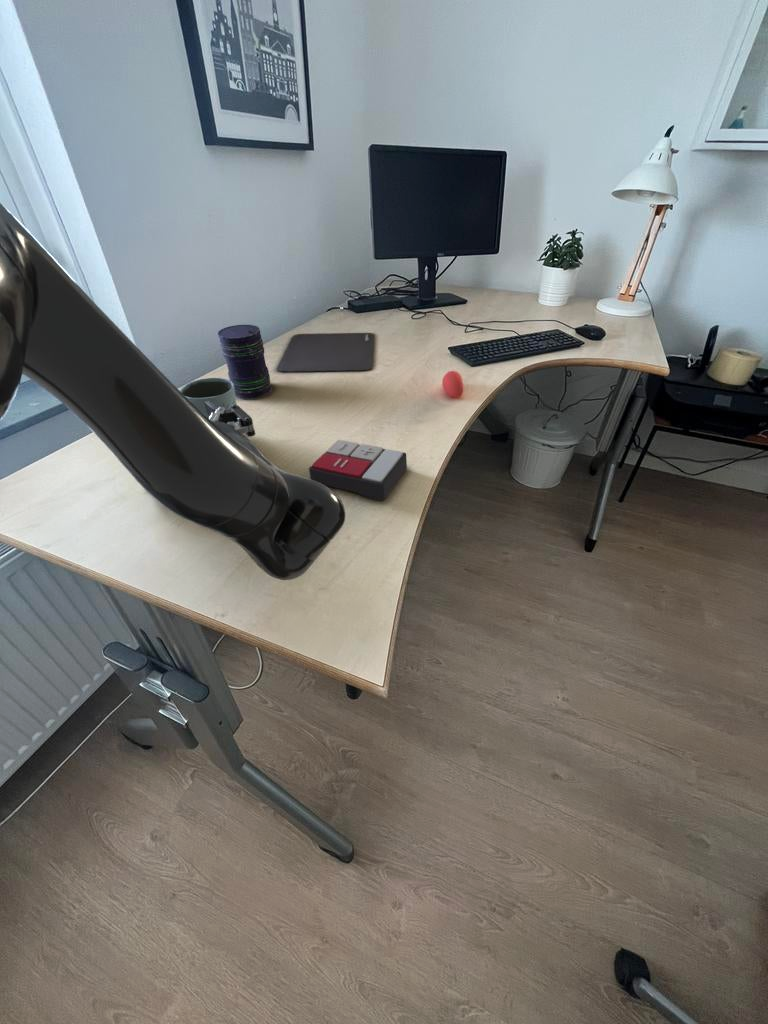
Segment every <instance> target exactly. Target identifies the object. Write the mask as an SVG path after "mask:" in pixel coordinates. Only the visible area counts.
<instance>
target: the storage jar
mask: <svg viewBox="0 0 768 1024" xmlns="http://www.w3.org/2000/svg"><path fill="white" fill-rule="evenodd" d="M217 336H218V338H219V343H220V349H221V351H222V356H223V358H224V359H225V363H226V366H227V371H228V372H227V376H228V380H230V381H231V382H232V383H233V384H234V390H235V398H236V399H237V398H238V399H241V400H254V399H259V398H262V397H265V396H268V395H269V394H270V393H271V392H272V385H271V377H270V373H269V372H270V371H269V367H268V366H267V364H266V359H265V348H264V341H263V338H262V334H261V329H260V327H259V326H257V325H255V324H236V325H235V324H234V325H229V326H227V327H224V328H222V329H220V330H218V331H217Z"/></svg>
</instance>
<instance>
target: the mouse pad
mask: <svg viewBox="0 0 768 1024" xmlns="http://www.w3.org/2000/svg"><path fill="white" fill-rule="evenodd" d="M374 343H375V334H374V333H372V332H346V333H345V332H341V333H340V332H338V333H337V332H336V333H297V334H294V335H293V336H292V337H291V339H290V341H289V343H288V345H287V347H286V349H285V350H284V353H283V355H282V357H281V359H280V361H279V362H278V364H277V367H276V371H277V372H281V373H282V372H283V373H292V372H293V373H295V372H296V373H299V372H362V371H363V372H364V371H365V372H366V371H369V370H371V369H372V368H373V358H374V346H375V345H374Z"/></svg>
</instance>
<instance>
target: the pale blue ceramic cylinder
mask: <svg viewBox="0 0 768 1024" xmlns="http://www.w3.org/2000/svg"><path fill="white" fill-rule="evenodd" d="M179 391H180V392H181V393H182V394H183V395H184V396H186V397H187V398H188V399H189V400H190V401H191V402H192V403H193V404H194V405H195V406H196V407H197V408H198V409H199V410H200V411H201V412H202V413H203V414H205V415H206V416H207V417H208V418H209V417H210V416H209V415H208V414H207V411H206V408H205V405H204V402H207V401H210V402H211V403H216V404H217V405H219V406H220V407H224V408H225V410H227V409H230V407H231V406H232V405H237V397H235V390H234V384H233V383H232V382H231V381H230V380H229V379H227V378H223V377H205V378H201V379H196V380H193V381H190V382H188V383H186V384H185V385H183V386H182V387H180V389H179ZM229 424H230V425H233V426H234V427H235V426H236V424H235V423H234V421H232V422H229Z"/></svg>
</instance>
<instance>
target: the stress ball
mask: <svg viewBox="0 0 768 1024" xmlns="http://www.w3.org/2000/svg"><path fill="white" fill-rule="evenodd" d="M441 384H442V388H443V390H444V392H445V394H447V395H448V396H449V397H451V398H454V399H458V398H460V397H461V396H462V395H463V393H464V382H463V378H462V375H461V374H460V373H459V372H458V371H455V370H450V371H448V372H446V373H445V374H444V376H443V377H442V383H441Z"/></svg>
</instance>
